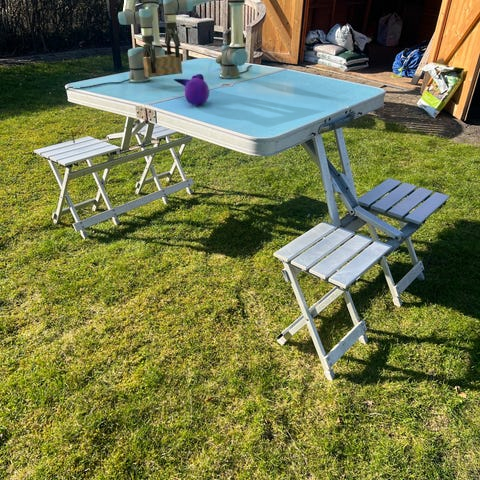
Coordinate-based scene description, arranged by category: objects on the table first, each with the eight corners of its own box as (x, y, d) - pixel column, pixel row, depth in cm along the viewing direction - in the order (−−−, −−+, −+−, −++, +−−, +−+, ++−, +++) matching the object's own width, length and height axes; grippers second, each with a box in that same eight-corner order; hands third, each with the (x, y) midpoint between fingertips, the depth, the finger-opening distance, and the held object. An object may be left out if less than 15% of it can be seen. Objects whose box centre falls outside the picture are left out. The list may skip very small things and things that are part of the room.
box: (148, 77, 302) (146, 58, 296) (144, 76, 307) (142, 57, 301) (182, 73, 313) (180, 54, 307) (178, 71, 318) (176, 53, 312)
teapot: (219, 71, 369) (218, 51, 361) (212, 69, 377) (212, 49, 370) (241, 68, 378) (241, 49, 370) (234, 66, 386) (234, 47, 379)
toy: (197, 96, 290) (209, 111, 269) (171, 92, 283) (181, 106, 262) (203, 71, 282) (215, 85, 261) (175, 66, 275) (186, 79, 254)
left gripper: (159, 36, 288) (162, 73, 299) (147, 33, 302) (151, 69, 314) (148, 37, 284) (152, 75, 296) (136, 34, 299) (141, 70, 310)
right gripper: (184, 22, 290) (186, 57, 301) (168, 20, 308) (170, 53, 319) (173, 23, 286) (176, 58, 297) (157, 21, 305) (161, 54, 315)
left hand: (151, 72), depth 305 cm, fingers closed on box, 7 cm apart
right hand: (173, 56), depth 308 cm, fingers open, 13 cm apart
